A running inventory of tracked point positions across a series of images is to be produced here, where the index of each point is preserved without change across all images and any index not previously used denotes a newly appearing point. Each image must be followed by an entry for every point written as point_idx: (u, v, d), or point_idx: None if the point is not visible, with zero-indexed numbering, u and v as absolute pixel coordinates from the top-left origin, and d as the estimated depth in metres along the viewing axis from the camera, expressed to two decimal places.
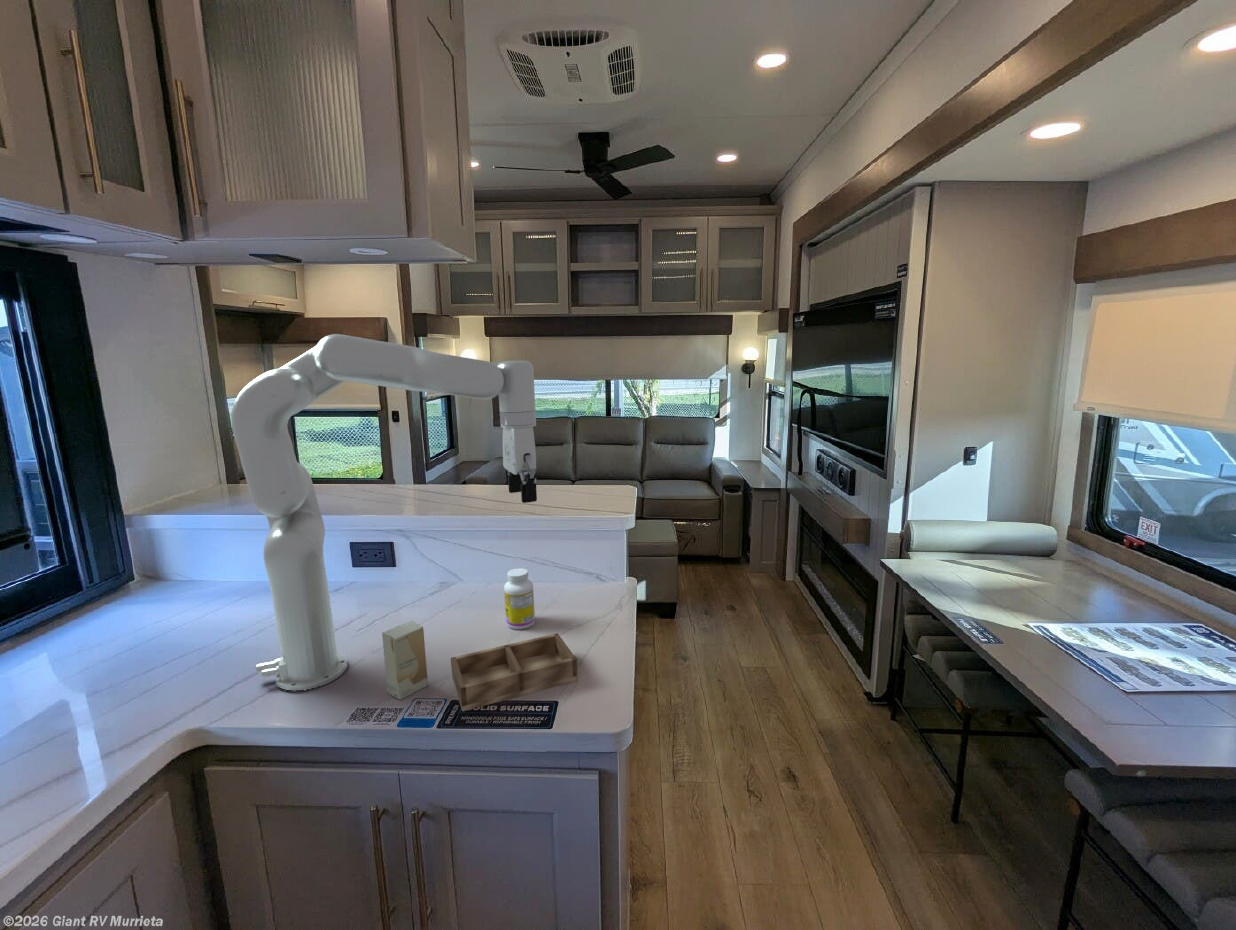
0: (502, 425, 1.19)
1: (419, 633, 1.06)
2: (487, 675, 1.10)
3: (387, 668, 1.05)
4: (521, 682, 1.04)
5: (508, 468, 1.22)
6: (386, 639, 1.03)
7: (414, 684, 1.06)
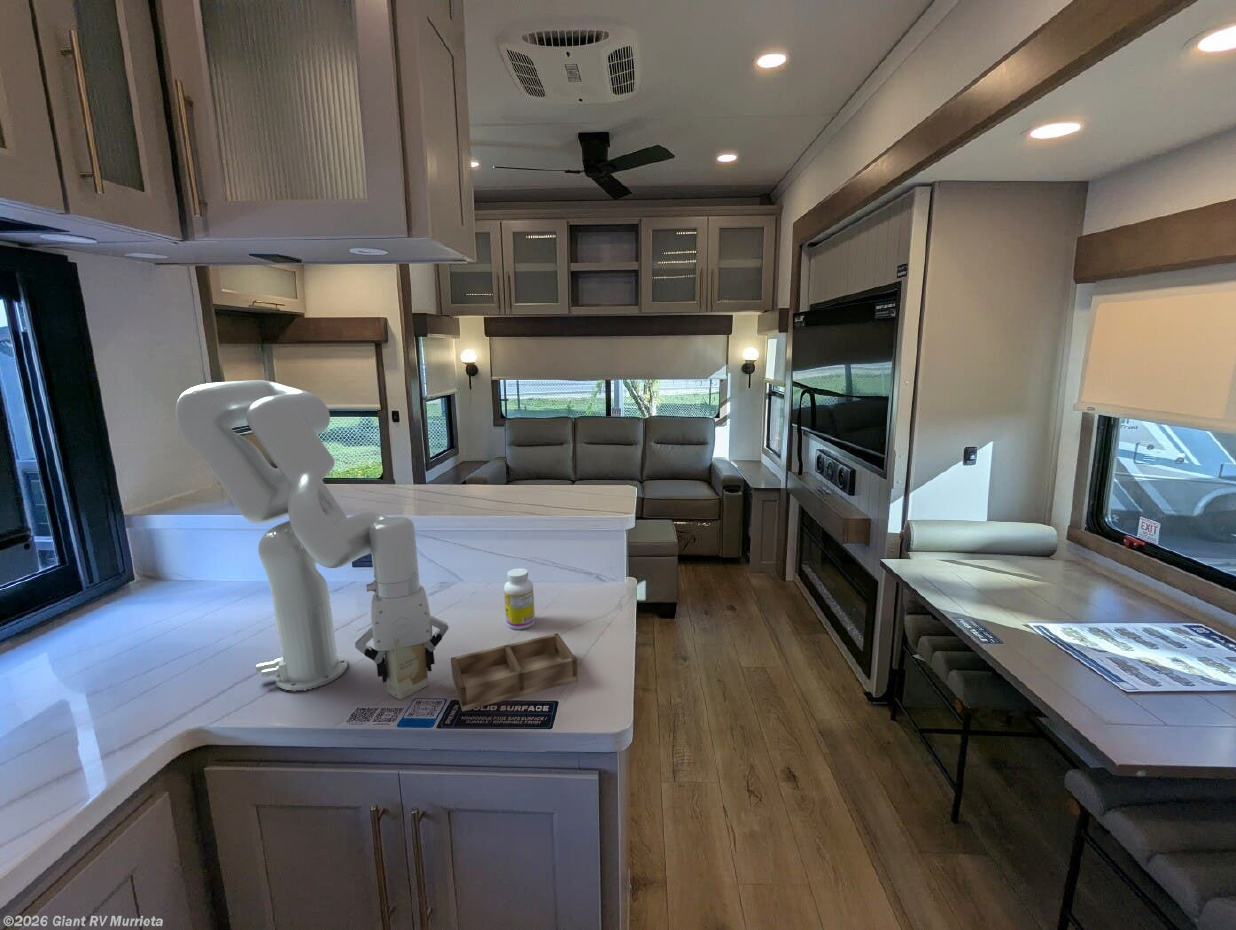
0: (403, 596, 1.01)
1: None
2: (487, 675, 1.10)
3: (387, 668, 1.05)
4: (521, 682, 1.04)
5: (405, 644, 1.03)
6: None
7: (414, 684, 1.06)
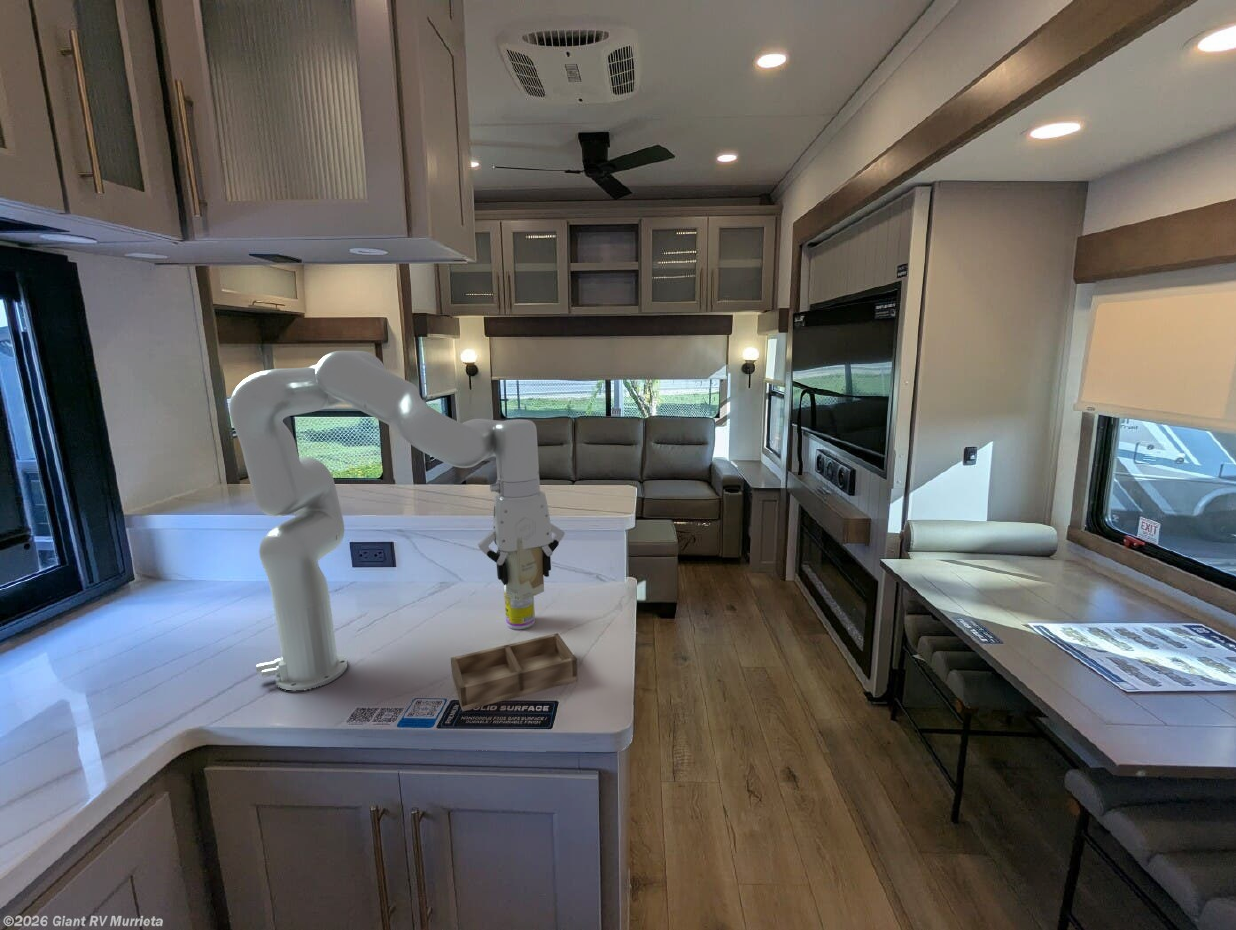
0: (528, 496, 1.01)
1: None
2: (487, 675, 1.10)
3: (507, 571, 1.05)
4: (521, 682, 1.04)
5: (527, 545, 1.04)
6: None
7: (533, 588, 1.06)
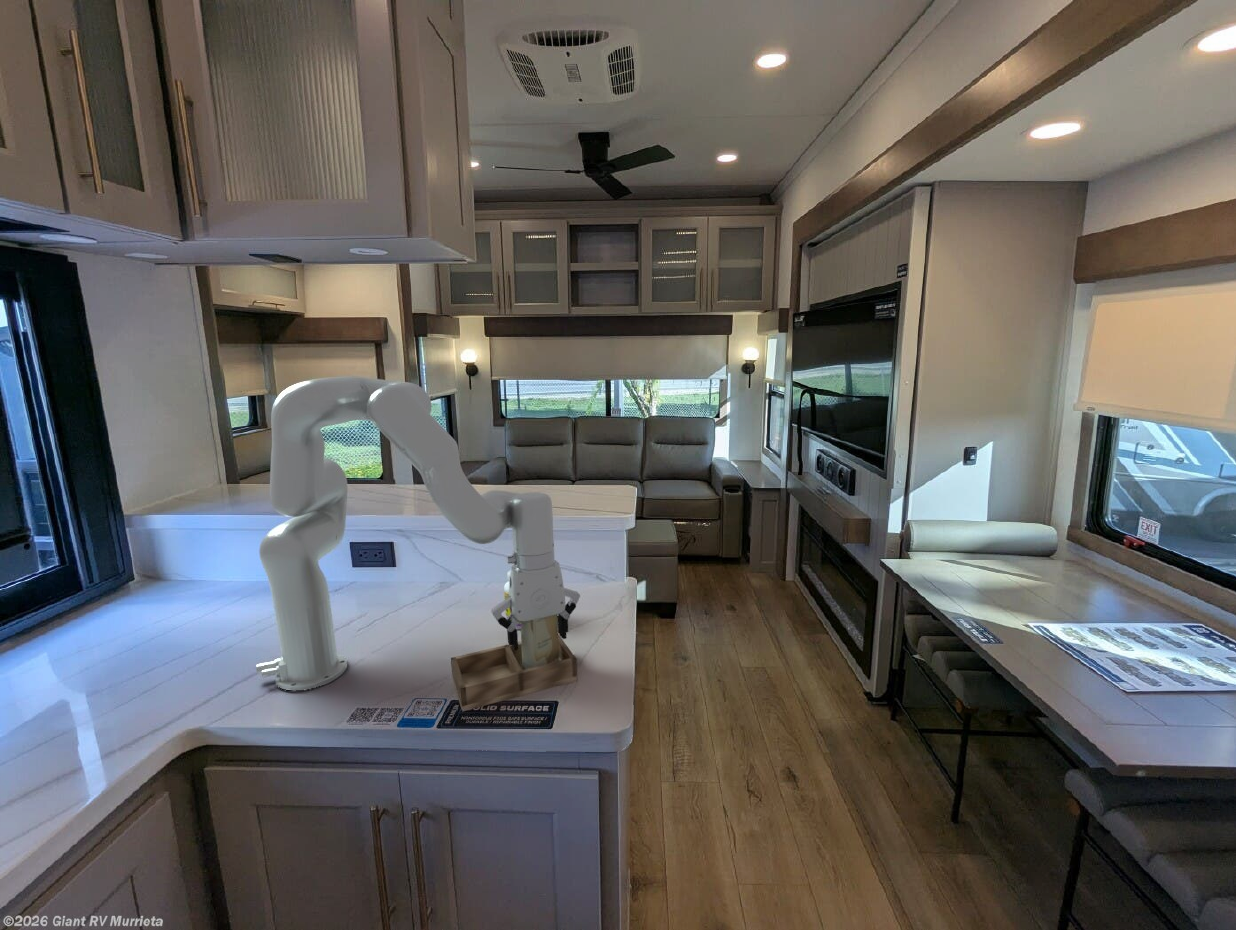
0: (544, 568, 1.04)
1: None
2: (487, 675, 1.10)
3: (524, 647, 1.09)
4: (521, 682, 1.04)
5: (542, 615, 1.07)
6: None
7: (548, 663, 1.10)
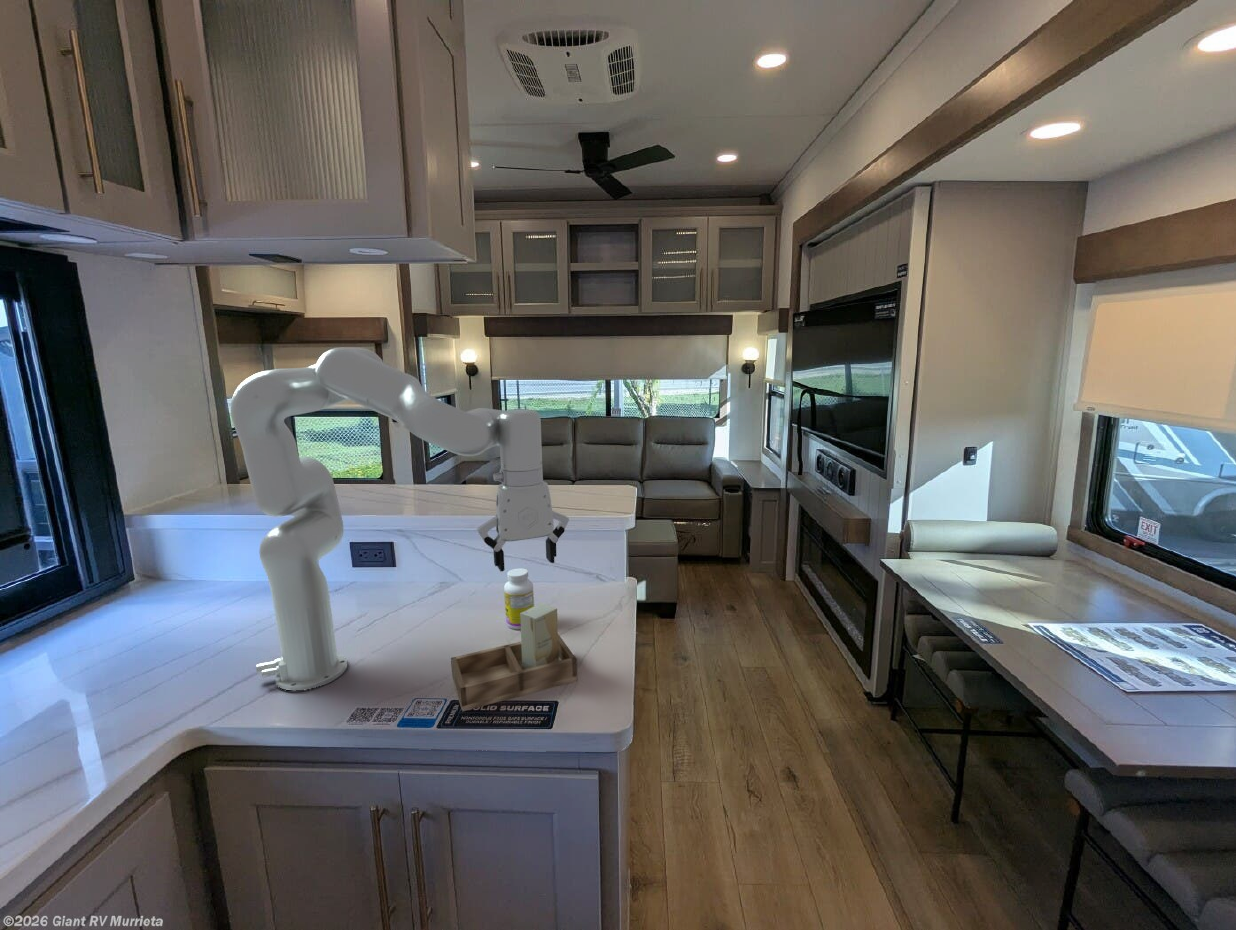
0: (531, 486, 1.02)
1: (554, 614, 1.10)
2: (487, 675, 1.10)
3: (524, 647, 1.09)
4: (521, 682, 1.04)
5: (529, 535, 1.04)
6: (525, 619, 1.08)
7: (548, 663, 1.10)
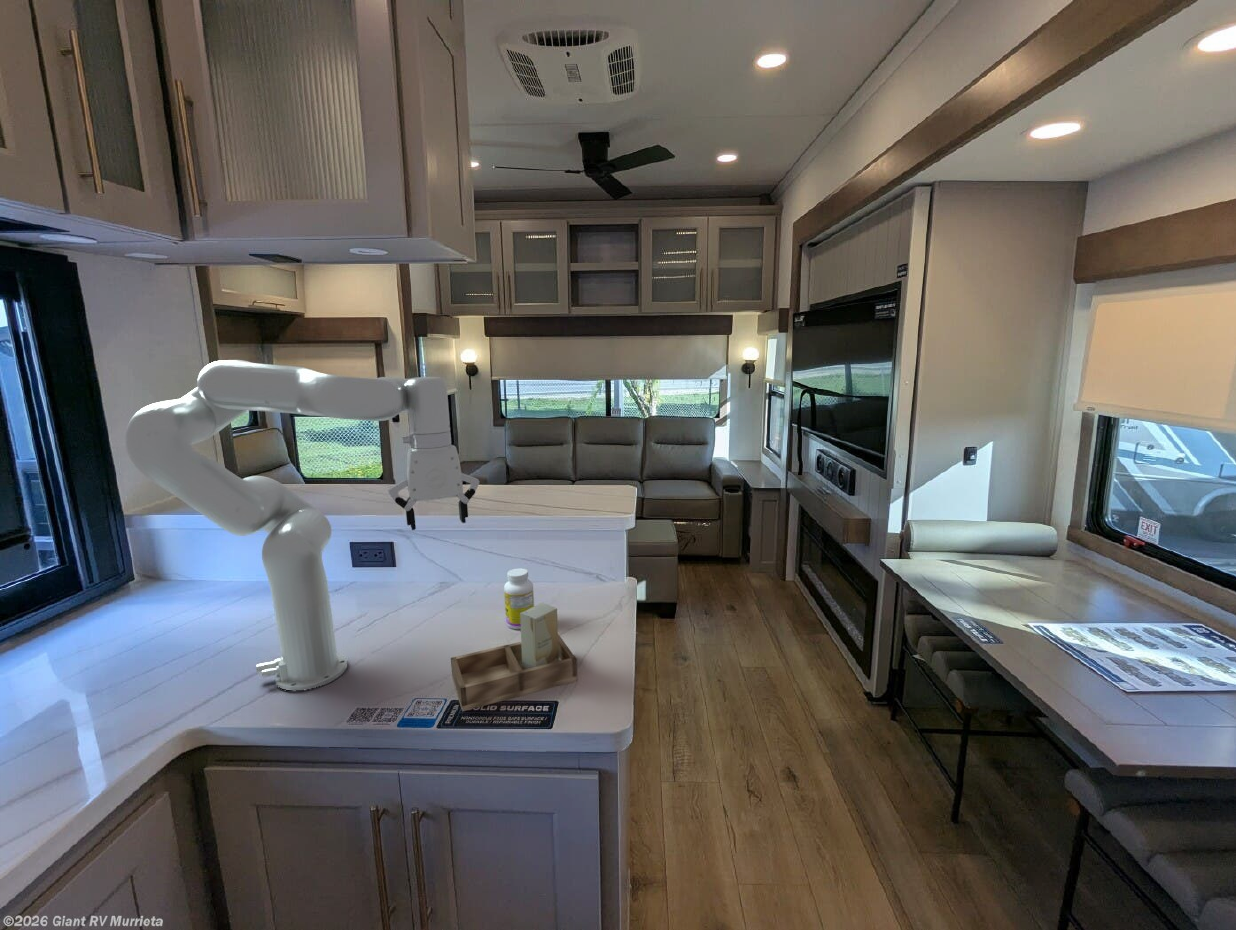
0: (437, 448, 1.08)
1: (554, 614, 1.10)
2: (487, 675, 1.10)
3: (524, 647, 1.09)
4: (521, 682, 1.04)
5: (438, 495, 1.11)
6: (525, 619, 1.08)
7: (548, 663, 1.10)
